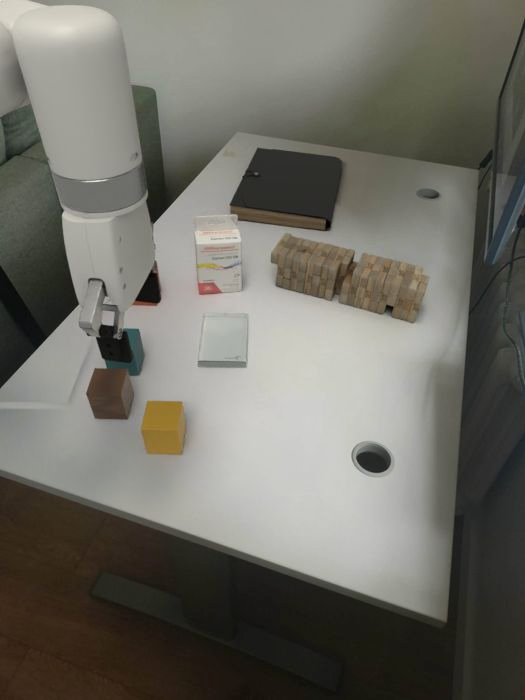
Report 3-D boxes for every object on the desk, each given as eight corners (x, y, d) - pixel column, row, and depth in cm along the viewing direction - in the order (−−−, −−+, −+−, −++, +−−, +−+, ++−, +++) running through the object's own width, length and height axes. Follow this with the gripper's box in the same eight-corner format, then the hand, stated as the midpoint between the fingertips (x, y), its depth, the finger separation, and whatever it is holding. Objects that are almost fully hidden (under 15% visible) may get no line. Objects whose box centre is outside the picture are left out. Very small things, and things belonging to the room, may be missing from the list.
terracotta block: (130, 305, 94) (125, 279, 90) (135, 288, 98) (130, 263, 93) (156, 305, 94) (152, 280, 90) (161, 289, 98) (157, 264, 93)
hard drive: (246, 361, 82) (248, 312, 91) (197, 360, 82) (203, 311, 91) (246, 368, 83) (248, 319, 92) (197, 367, 83) (204, 318, 92)
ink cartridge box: (199, 295, 97) (193, 229, 86) (197, 280, 100) (191, 215, 90) (242, 292, 98) (242, 226, 87) (239, 277, 101) (238, 212, 91)
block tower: (419, 303, 98) (282, 263, 105) (432, 268, 92) (285, 229, 99) (412, 327, 93) (268, 284, 99) (425, 292, 87) (271, 249, 93)
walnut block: (94, 418, 75) (85, 393, 71) (102, 393, 79) (94, 367, 74) (127, 419, 75) (120, 394, 71) (134, 394, 79) (127, 368, 74)
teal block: (108, 374, 81) (101, 349, 77) (115, 353, 85) (108, 327, 81) (138, 375, 81) (133, 350, 77) (144, 354, 85) (139, 328, 81)
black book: (256, 146, 137) (343, 156, 135) (256, 160, 140) (341, 171, 138) (228, 203, 114) (332, 217, 112) (228, 219, 117) (329, 233, 115)
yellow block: (146, 454, 71) (140, 429, 67) (152, 425, 74) (147, 400, 70) (181, 454, 71) (177, 430, 67) (186, 426, 74) (182, 401, 70)
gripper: (98, 138, 49) (128, 278, 61) (8, 230, 37) (68, 382, 49) (171, 144, 48) (187, 285, 60) (105, 240, 36) (141, 391, 48)
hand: (133, 328), depth 55 cm, fingers open, 9 cm apart
